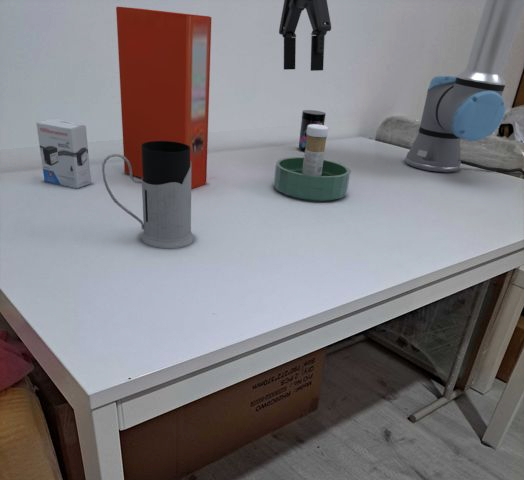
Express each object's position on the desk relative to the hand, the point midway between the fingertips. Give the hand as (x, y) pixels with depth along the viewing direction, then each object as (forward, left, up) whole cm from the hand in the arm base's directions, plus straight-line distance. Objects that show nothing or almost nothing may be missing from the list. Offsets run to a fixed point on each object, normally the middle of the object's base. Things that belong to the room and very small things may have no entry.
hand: (302, 70), depth 119 cm
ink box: (+53, +6, -23) cm, 58 cm away
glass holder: (+41, +39, -23) cm, 61 cm away
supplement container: (-16, -24, -23) cm, 37 cm away
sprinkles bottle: (+1, +15, -23) cm, 27 cm away
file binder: (+32, +4, -23) cm, 40 cm away
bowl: (+1, +15, -23) cm, 27 cm away
